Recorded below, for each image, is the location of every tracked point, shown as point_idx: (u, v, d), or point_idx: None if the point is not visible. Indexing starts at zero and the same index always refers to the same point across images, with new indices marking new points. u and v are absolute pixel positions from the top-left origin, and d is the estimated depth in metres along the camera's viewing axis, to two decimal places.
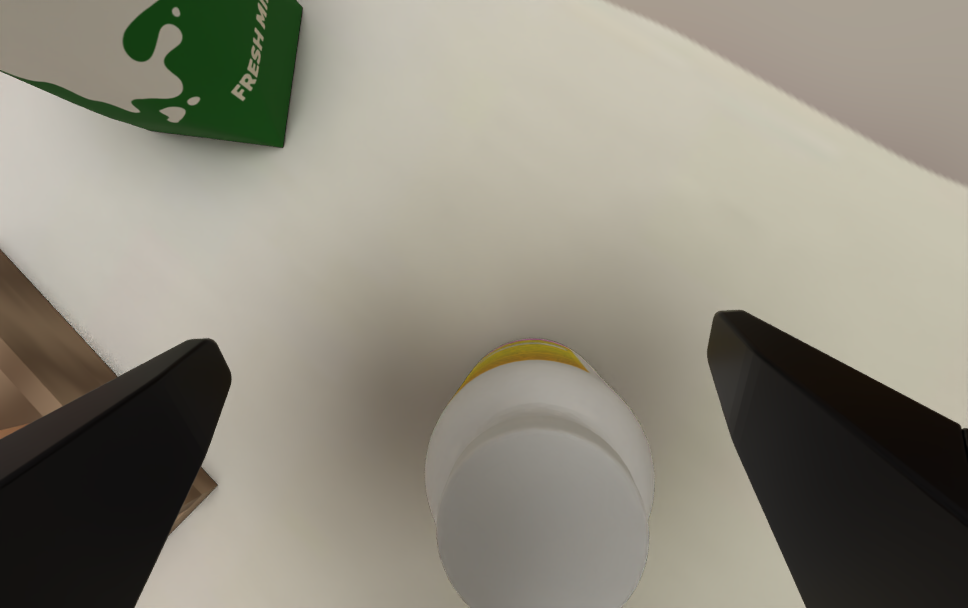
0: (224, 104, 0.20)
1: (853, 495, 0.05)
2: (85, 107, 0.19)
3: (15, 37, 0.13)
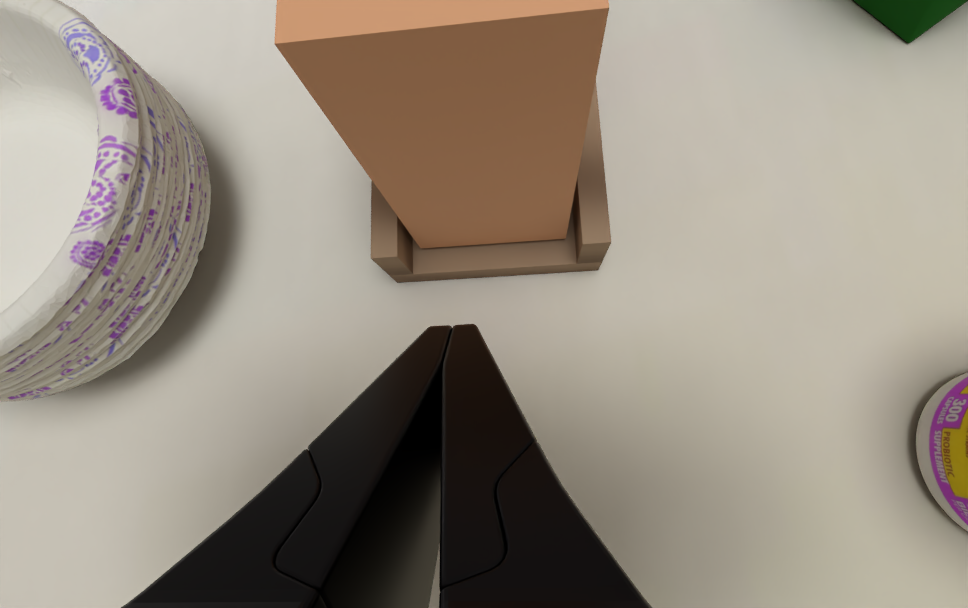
0: None
1: None
2: None
3: None
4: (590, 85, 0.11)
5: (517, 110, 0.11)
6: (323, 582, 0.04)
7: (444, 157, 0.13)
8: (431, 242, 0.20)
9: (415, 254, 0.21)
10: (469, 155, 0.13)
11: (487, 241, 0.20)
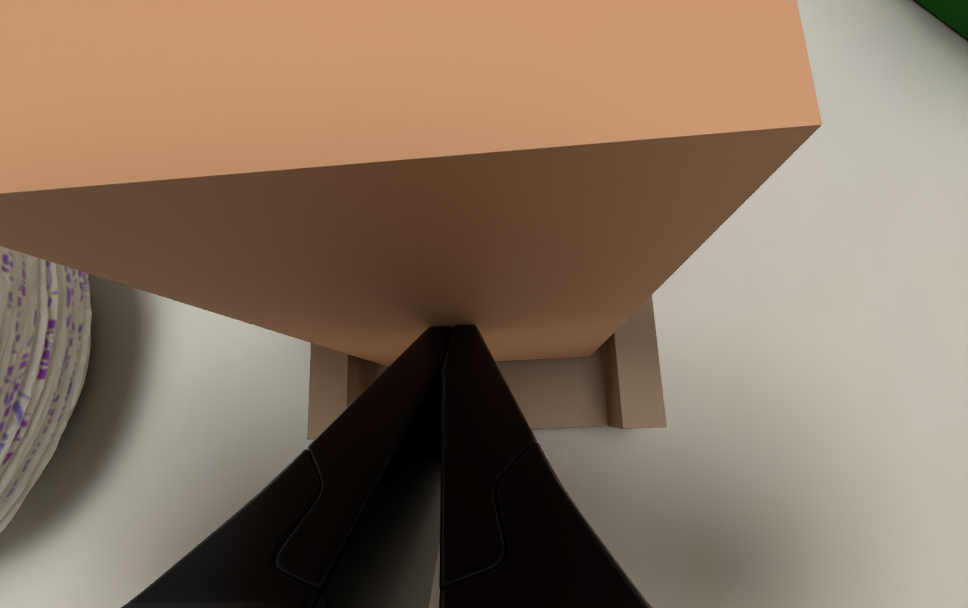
0: None
1: None
2: None
3: None
4: (690, 247, 0.05)
5: (527, 275, 0.06)
6: (323, 582, 0.04)
7: (396, 316, 0.08)
8: None
9: None
10: (440, 313, 0.08)
11: None
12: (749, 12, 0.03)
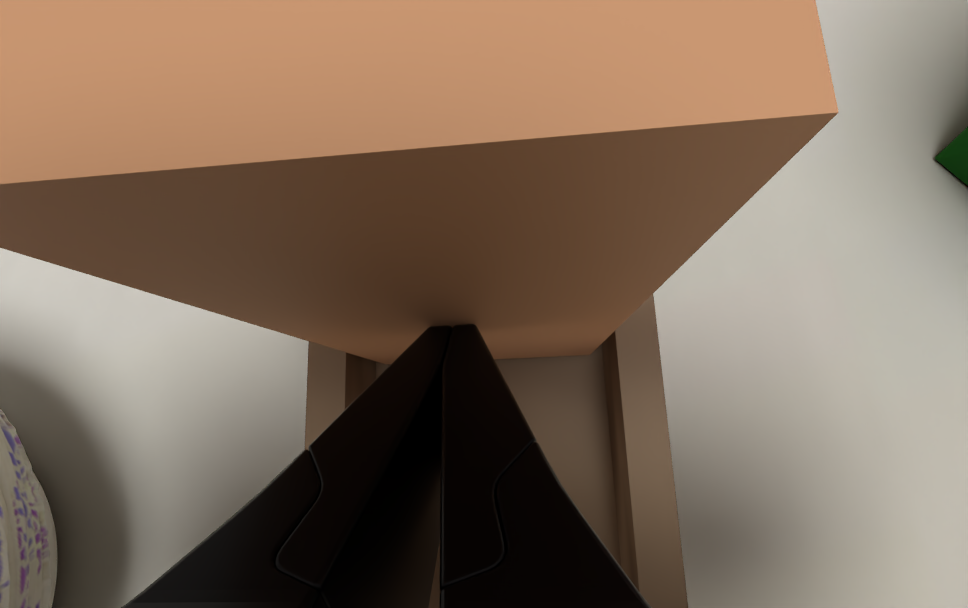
0: None
1: None
2: None
3: None
4: (695, 243, 0.05)
5: (527, 273, 0.05)
6: (323, 582, 0.04)
7: (394, 314, 0.07)
8: None
9: None
10: (438, 311, 0.07)
11: None
12: None
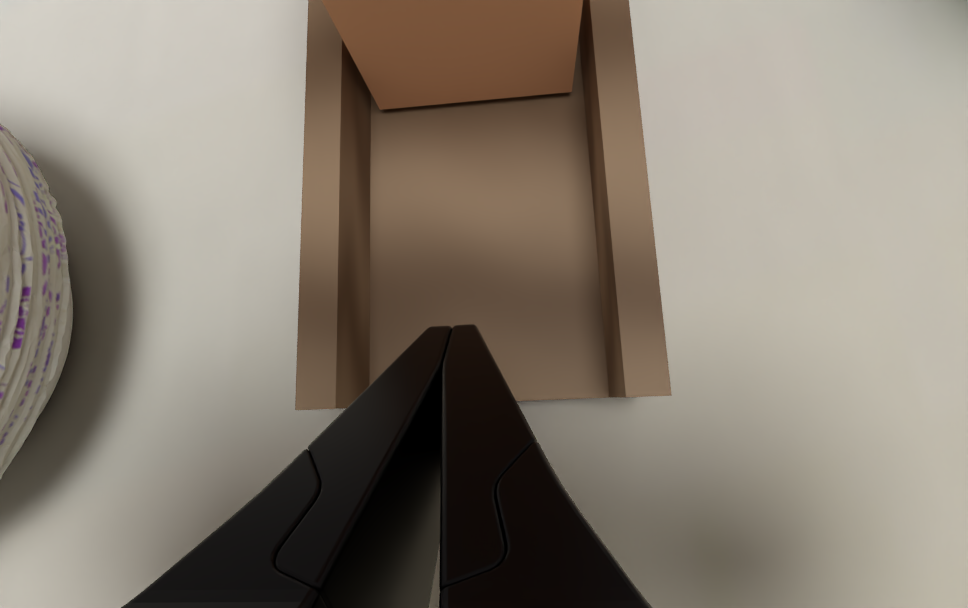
0: None
1: None
2: None
3: None
4: None
5: None
6: (323, 582, 0.04)
7: None
8: (392, 97, 0.15)
9: (373, 376, 0.14)
10: None
11: (467, 95, 0.15)
12: None
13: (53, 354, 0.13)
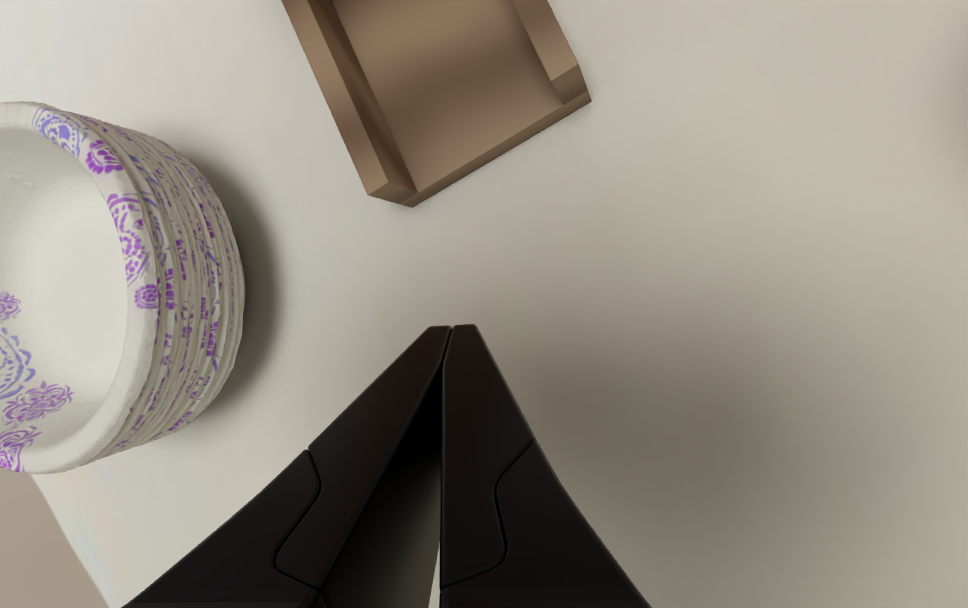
0: None
1: None
2: None
3: None
4: None
5: None
6: (323, 581, 0.04)
7: None
8: None
9: (412, 173, 0.21)
10: None
11: None
12: None
13: (232, 241, 0.22)
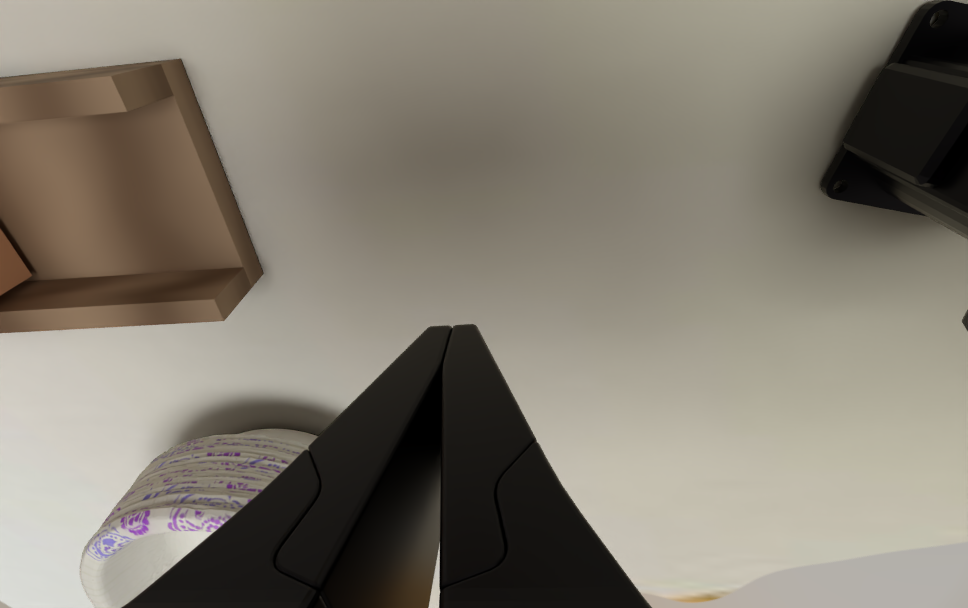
0: None
1: None
2: None
3: None
4: None
5: None
6: (323, 582, 0.04)
7: None
8: (12, 270, 0.20)
9: (223, 266, 0.21)
10: None
11: None
12: None
13: (251, 437, 0.24)
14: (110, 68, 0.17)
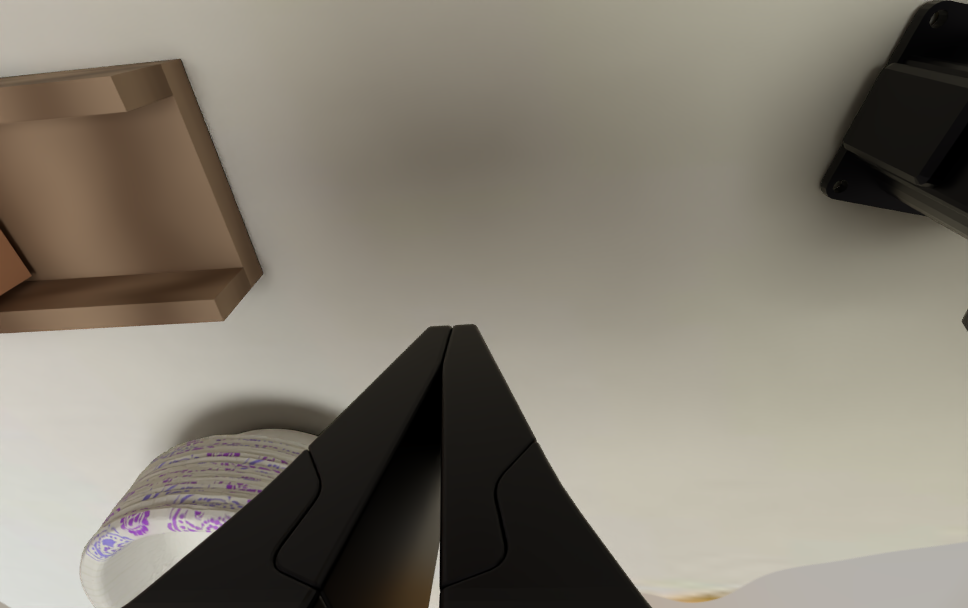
0: None
1: None
2: None
3: None
4: None
5: None
6: (323, 582, 0.04)
7: None
8: (12, 270, 0.20)
9: (223, 266, 0.21)
10: None
11: None
12: None
13: (251, 437, 0.24)
14: (110, 68, 0.17)
